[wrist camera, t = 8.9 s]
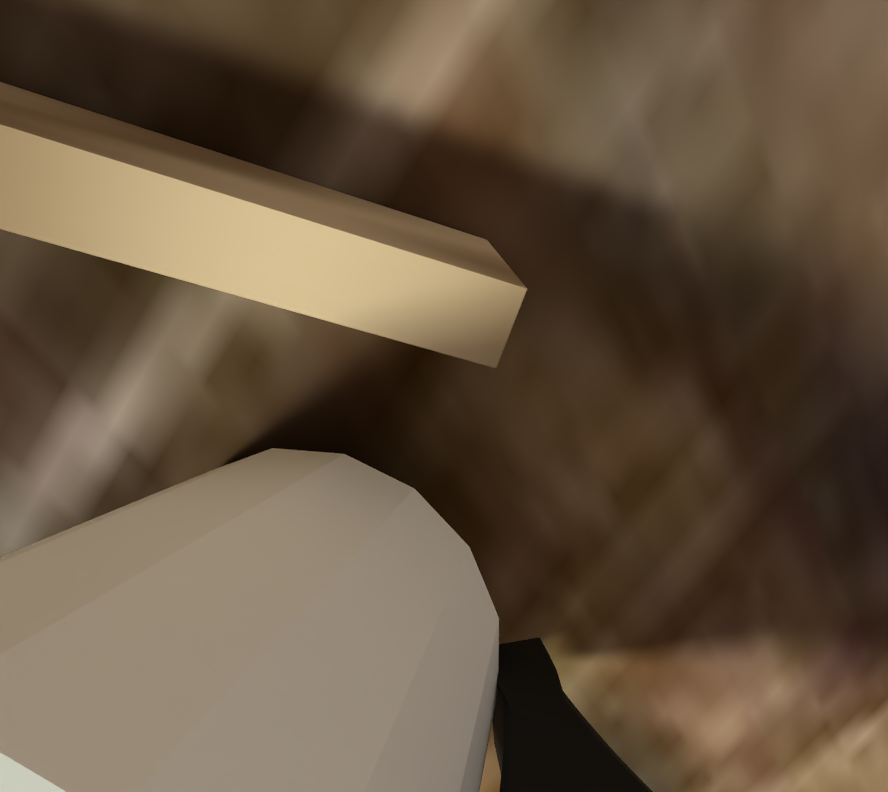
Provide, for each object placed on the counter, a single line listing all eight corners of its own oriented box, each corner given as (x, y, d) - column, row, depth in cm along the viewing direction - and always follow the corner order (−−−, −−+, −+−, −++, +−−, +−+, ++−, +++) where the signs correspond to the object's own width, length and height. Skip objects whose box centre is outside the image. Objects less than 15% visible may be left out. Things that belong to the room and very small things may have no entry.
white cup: (491, 892, 12) (290, 1678, 6) (100, 742, 14) (-417, 1239, 7) (598, 478, 10) (479, 947, 4) (132, 353, 12) (-532, 543, 5)
